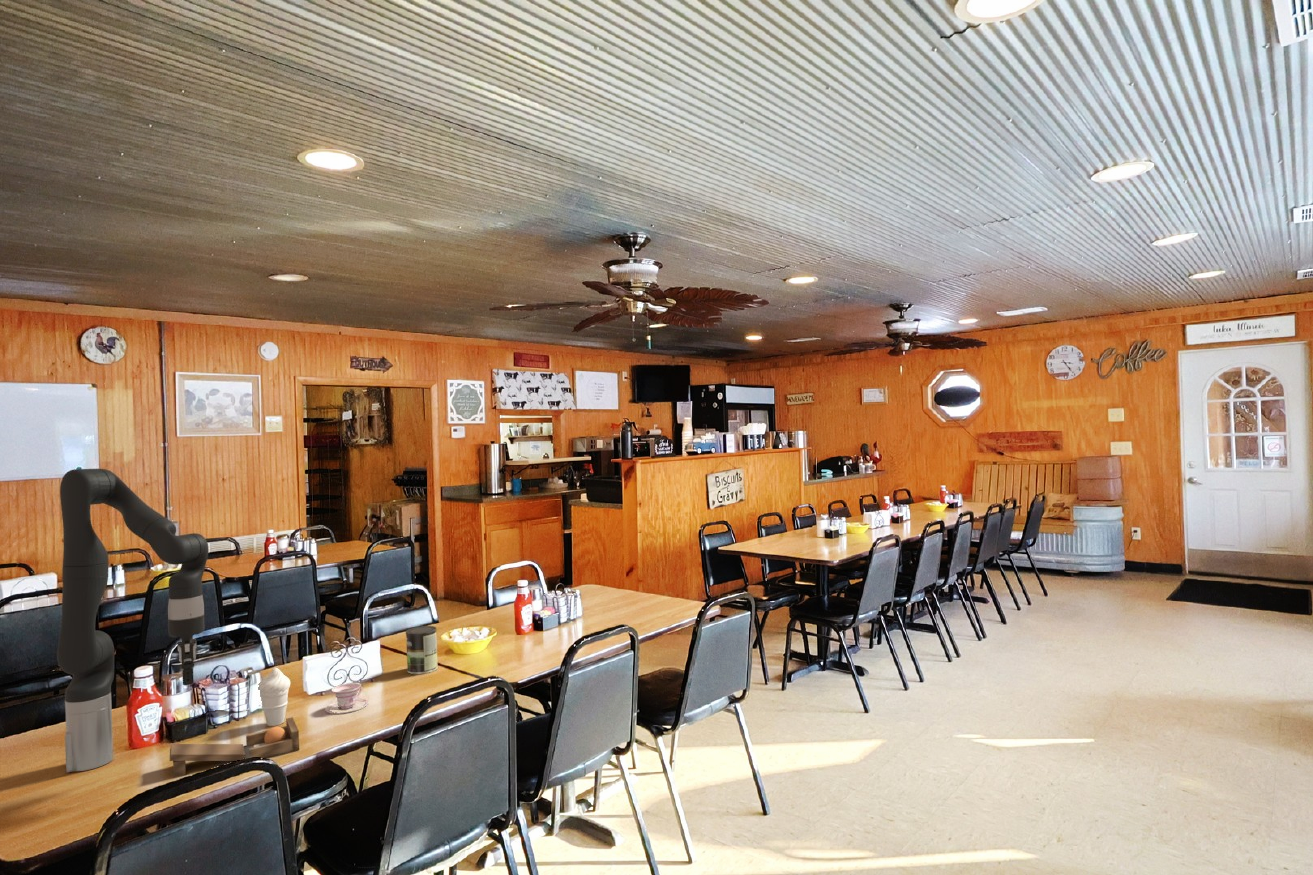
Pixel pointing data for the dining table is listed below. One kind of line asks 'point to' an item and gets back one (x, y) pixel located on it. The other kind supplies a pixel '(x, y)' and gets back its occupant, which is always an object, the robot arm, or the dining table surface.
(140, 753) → the dining table surface
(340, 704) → the teacup
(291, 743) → the box
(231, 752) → the ramp
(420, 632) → the coffee can
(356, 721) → the dining table surface
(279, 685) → the soft serve ice cream cone
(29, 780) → the dining table surface
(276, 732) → the ball
